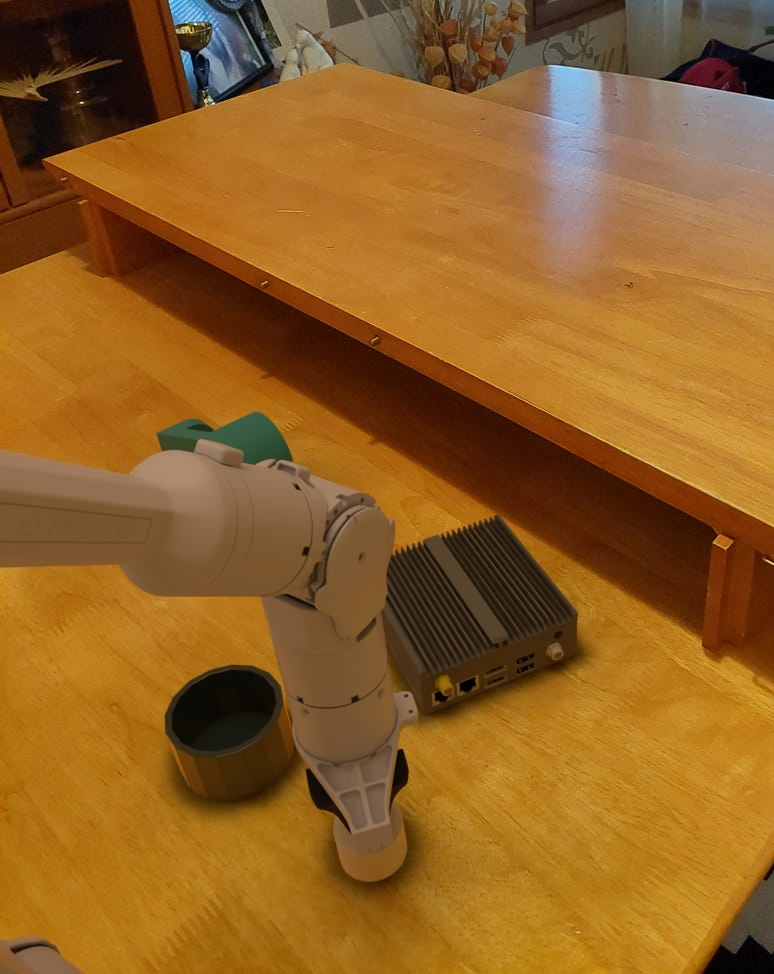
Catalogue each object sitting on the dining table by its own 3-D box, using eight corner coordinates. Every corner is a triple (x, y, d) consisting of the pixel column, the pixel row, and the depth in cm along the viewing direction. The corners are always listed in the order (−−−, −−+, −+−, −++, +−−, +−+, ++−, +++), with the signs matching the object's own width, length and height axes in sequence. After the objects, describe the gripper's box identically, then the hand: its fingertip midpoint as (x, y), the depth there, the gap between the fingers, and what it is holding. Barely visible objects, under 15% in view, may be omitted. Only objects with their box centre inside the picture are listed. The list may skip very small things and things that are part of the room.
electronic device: (430, 727, 68) (424, 681, 65) (361, 599, 79) (353, 555, 76) (584, 664, 72) (585, 618, 69) (497, 551, 83) (495, 507, 80)
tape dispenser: (242, 526, 88) (224, 459, 83) (165, 464, 97) (146, 400, 92) (300, 495, 91) (286, 429, 87) (221, 437, 100) (205, 375, 96)
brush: (383, 893, 58) (367, 818, 53) (325, 864, 59) (306, 789, 55) (419, 836, 61) (408, 760, 56) (364, 810, 62) (348, 734, 58)
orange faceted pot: (246, 819, 62) (230, 774, 59) (158, 775, 66) (139, 729, 63) (316, 733, 68) (305, 687, 65) (232, 695, 71) (218, 650, 68)
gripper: (441, 753, 45) (458, 902, 53) (380, 564, 56) (402, 711, 64) (296, 793, 43) (337, 939, 51) (263, 591, 55) (301, 737, 63)
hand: (366, 815), depth 58 cm, fingers closed on brush
